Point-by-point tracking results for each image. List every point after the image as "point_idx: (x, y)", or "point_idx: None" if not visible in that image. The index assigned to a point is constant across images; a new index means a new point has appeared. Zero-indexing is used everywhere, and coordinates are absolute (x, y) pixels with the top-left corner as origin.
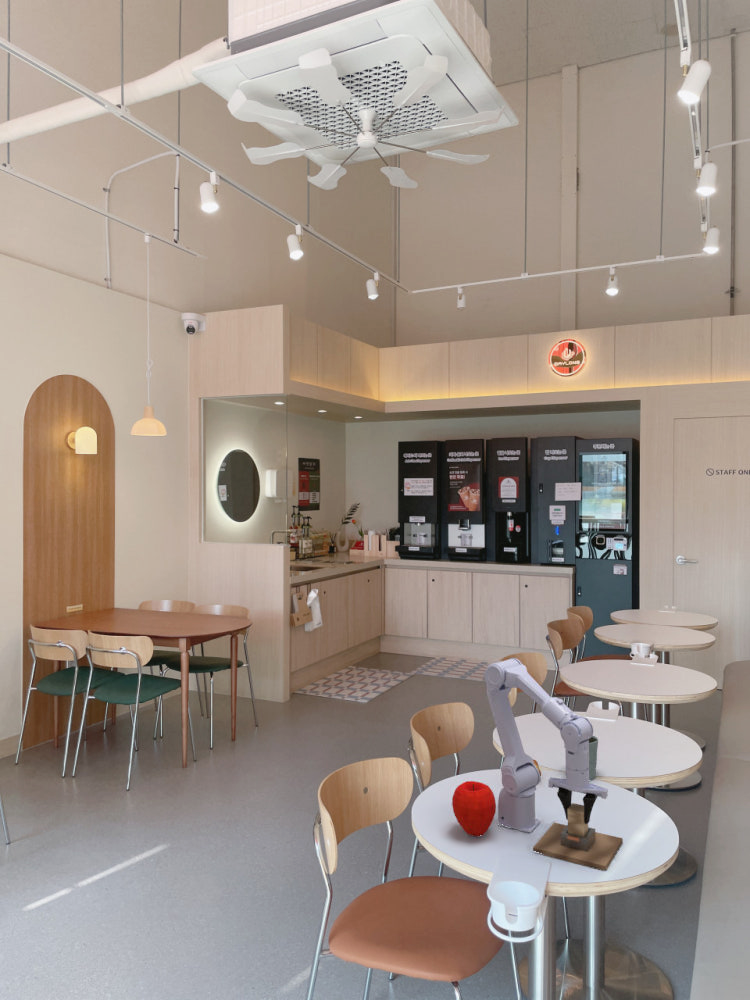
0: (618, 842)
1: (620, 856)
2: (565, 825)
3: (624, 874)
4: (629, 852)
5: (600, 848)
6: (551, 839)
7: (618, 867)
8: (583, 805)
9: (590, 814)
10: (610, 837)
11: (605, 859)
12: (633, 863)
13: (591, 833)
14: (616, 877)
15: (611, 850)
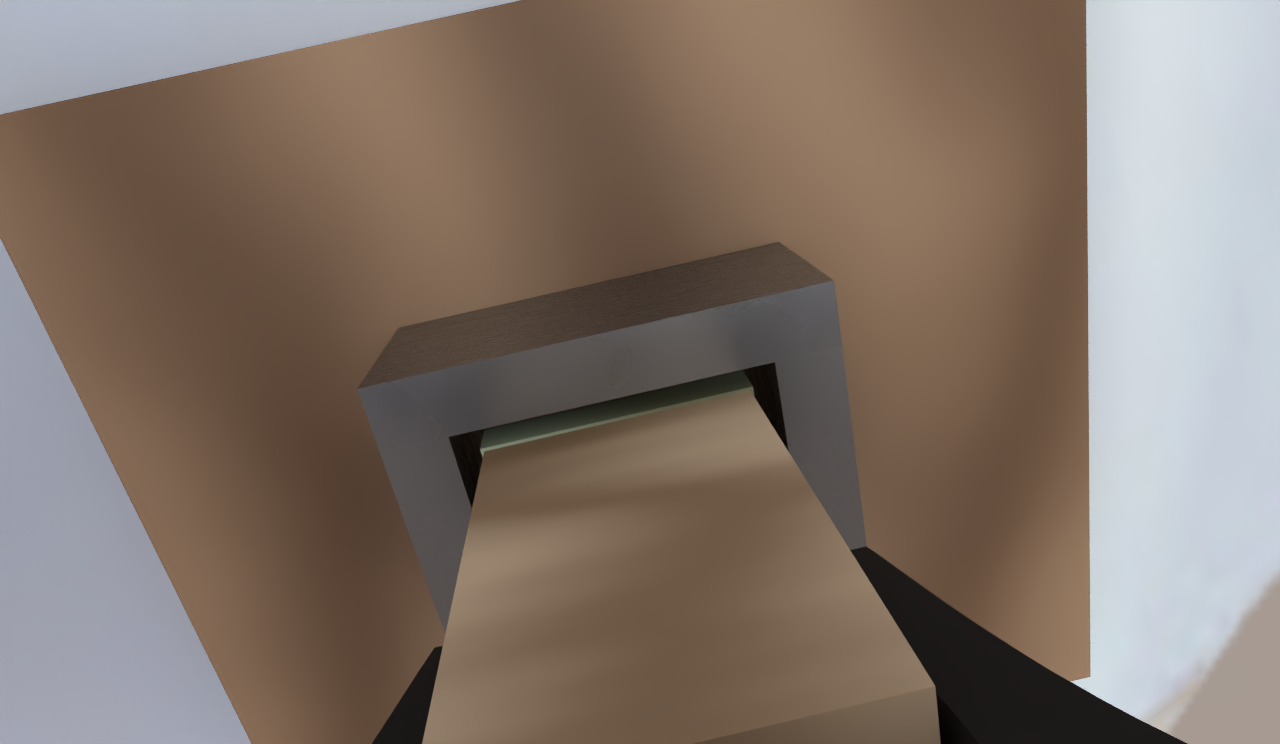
0: (1066, 65)
1: (1108, 279)
2: (159, 98)
3: (1226, 575)
4: (1181, 105)
5: (917, 393)
6: (327, 603)
7: (1147, 504)
8: (790, 730)
9: (952, 612)
10: None
11: (1050, 570)
12: (1270, 326)
13: (849, 469)
14: (1172, 662)
15: (1048, 346)
